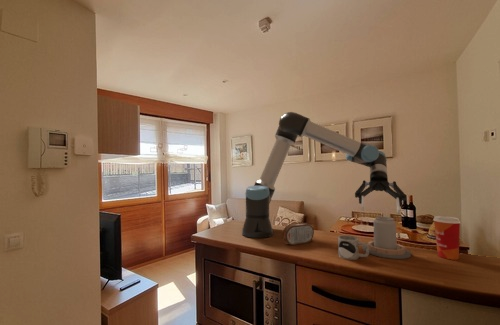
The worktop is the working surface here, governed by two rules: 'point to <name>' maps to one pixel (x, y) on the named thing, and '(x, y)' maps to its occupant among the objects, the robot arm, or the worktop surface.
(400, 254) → the coaster
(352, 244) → the mug
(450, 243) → the paper cup
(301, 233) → the tin
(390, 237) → the can
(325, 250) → the worktop surface
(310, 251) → the worktop surface
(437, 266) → the worktop surface
